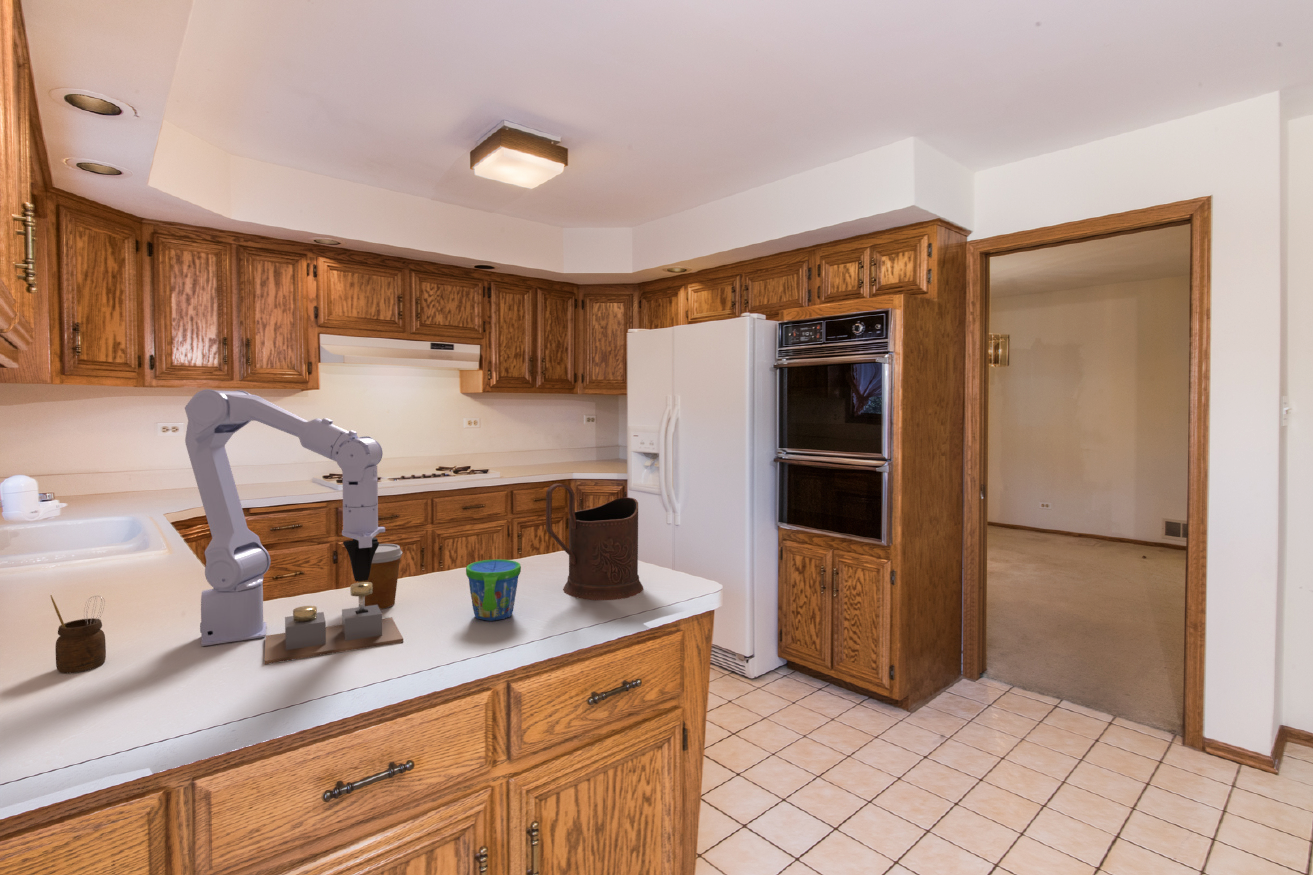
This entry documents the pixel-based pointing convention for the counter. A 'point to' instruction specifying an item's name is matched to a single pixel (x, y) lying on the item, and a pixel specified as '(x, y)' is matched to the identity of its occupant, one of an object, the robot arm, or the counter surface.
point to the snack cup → (493, 588)
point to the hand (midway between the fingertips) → (361, 580)
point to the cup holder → (600, 548)
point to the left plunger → (305, 613)
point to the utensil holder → (80, 643)
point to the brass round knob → (361, 593)
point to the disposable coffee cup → (384, 576)
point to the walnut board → (329, 643)
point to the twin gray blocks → (315, 629)
